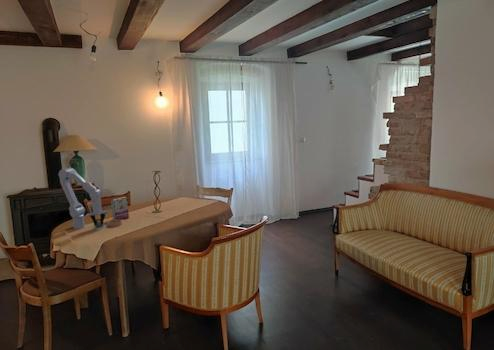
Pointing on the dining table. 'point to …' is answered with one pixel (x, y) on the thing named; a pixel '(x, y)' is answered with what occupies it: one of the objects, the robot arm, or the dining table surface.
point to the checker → (98, 228)
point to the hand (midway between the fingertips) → (98, 225)
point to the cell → (98, 223)
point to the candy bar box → (119, 208)
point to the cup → (114, 223)
